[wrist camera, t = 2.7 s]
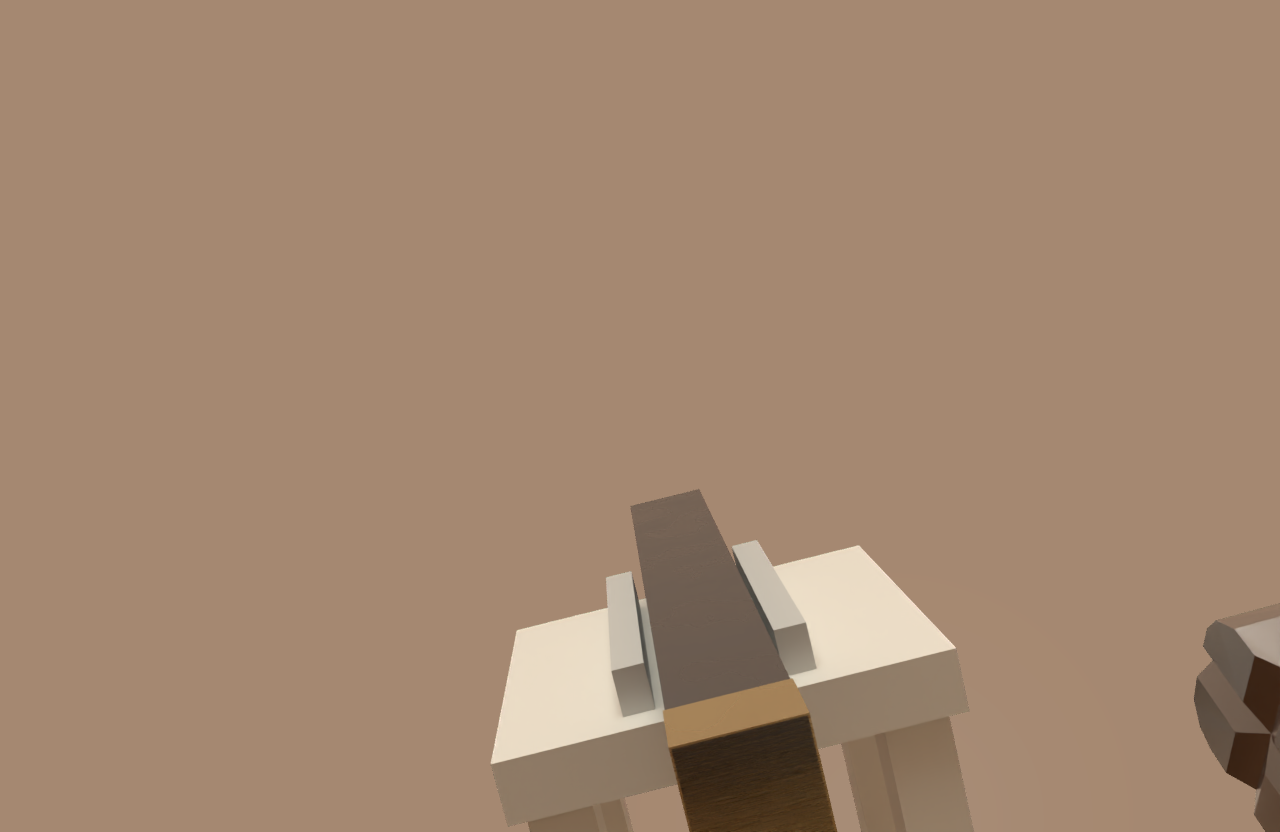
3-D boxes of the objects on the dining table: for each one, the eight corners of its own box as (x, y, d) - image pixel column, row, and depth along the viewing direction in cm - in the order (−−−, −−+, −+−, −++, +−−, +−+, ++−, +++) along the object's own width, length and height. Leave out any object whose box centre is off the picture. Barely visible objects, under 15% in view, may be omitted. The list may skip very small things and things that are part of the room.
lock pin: (701, 879, 24) (668, 747, 24) (646, 574, 48) (628, 505, 48) (839, 844, 24) (809, 712, 24) (716, 556, 48) (700, 487, 48)
